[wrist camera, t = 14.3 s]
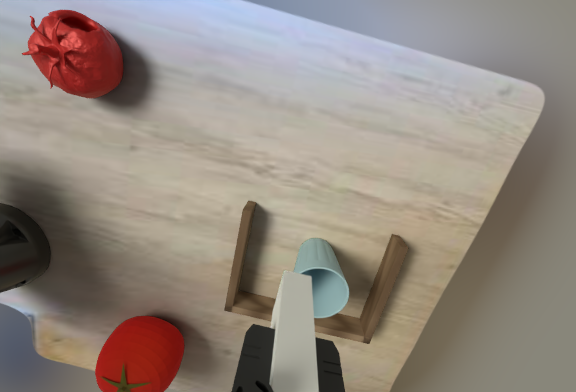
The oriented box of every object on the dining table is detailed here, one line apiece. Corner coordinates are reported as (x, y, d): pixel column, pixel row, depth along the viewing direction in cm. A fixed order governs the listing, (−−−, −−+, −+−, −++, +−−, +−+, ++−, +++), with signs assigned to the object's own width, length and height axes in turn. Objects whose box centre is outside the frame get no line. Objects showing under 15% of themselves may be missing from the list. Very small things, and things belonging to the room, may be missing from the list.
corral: (230, 294, 48) (224, 310, 44) (248, 200, 42) (242, 209, 39) (364, 325, 48) (369, 344, 44) (399, 235, 43) (408, 248, 39)
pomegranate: (142, 96, 39) (95, 94, 30) (76, 101, 40) (11, 101, 31) (124, 16, 36) (66, -12, 27) (52, 22, 37) (-27, -3, 28)
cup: (299, 278, 46) (298, 324, 36) (285, 238, 44) (280, 275, 34) (344, 267, 45) (355, 311, 35) (331, 226, 43) (340, 260, 33)
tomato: (123, 348, 54) (75, 410, 43) (131, 293, 49) (81, 346, 38) (185, 366, 54) (154, 433, 43) (199, 313, 50) (169, 372, 39)
